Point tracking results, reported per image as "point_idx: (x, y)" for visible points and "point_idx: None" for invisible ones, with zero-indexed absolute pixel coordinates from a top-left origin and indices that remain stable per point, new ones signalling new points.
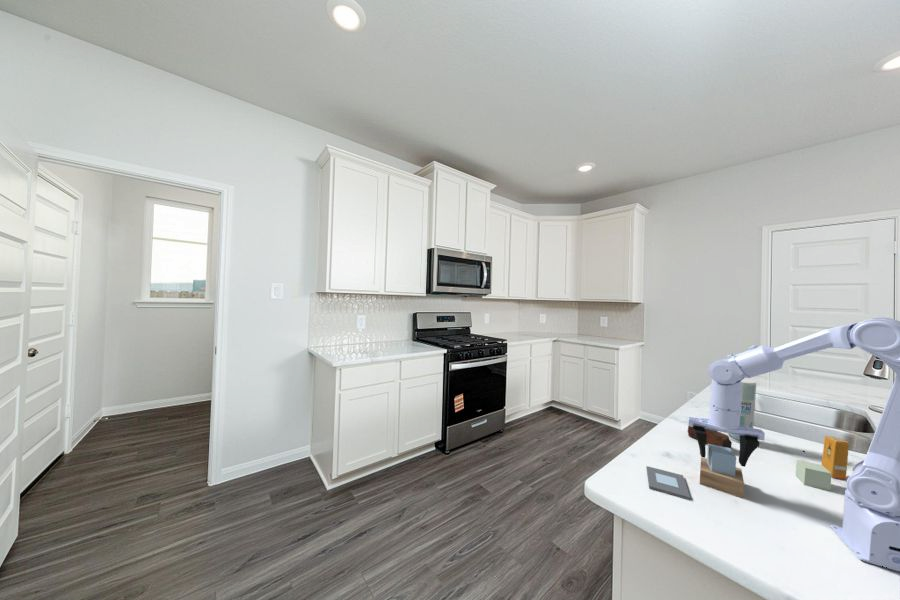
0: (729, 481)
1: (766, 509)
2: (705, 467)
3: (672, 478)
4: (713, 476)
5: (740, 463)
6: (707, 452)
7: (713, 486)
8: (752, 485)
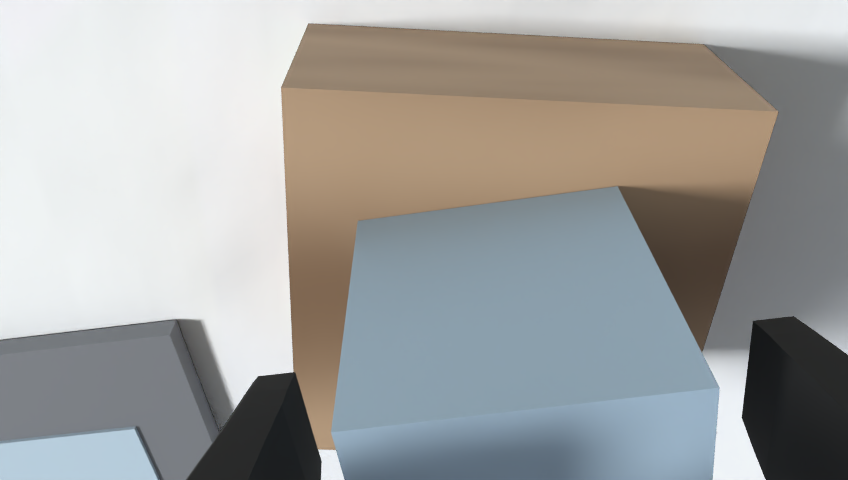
0: None
1: None
2: None
3: (112, 450)
4: None
5: (751, 392)
6: (347, 319)
7: None
8: (820, 23)
